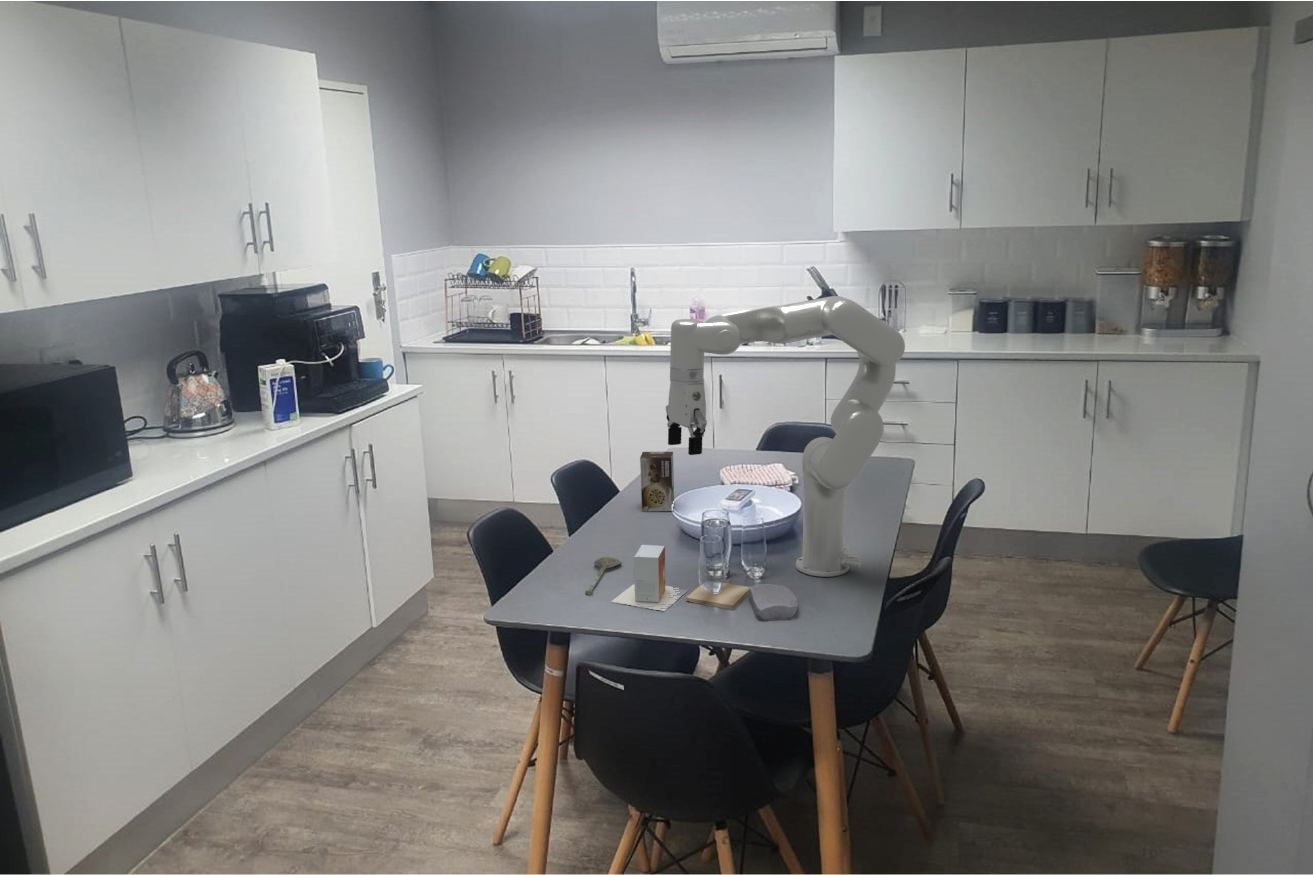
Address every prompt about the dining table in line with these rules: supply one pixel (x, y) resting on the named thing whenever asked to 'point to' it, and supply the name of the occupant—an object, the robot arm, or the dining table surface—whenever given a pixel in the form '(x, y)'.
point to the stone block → (772, 602)
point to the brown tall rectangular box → (657, 481)
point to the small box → (649, 573)
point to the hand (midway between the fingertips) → (684, 449)
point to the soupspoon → (602, 569)
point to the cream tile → (629, 599)
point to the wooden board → (720, 596)
